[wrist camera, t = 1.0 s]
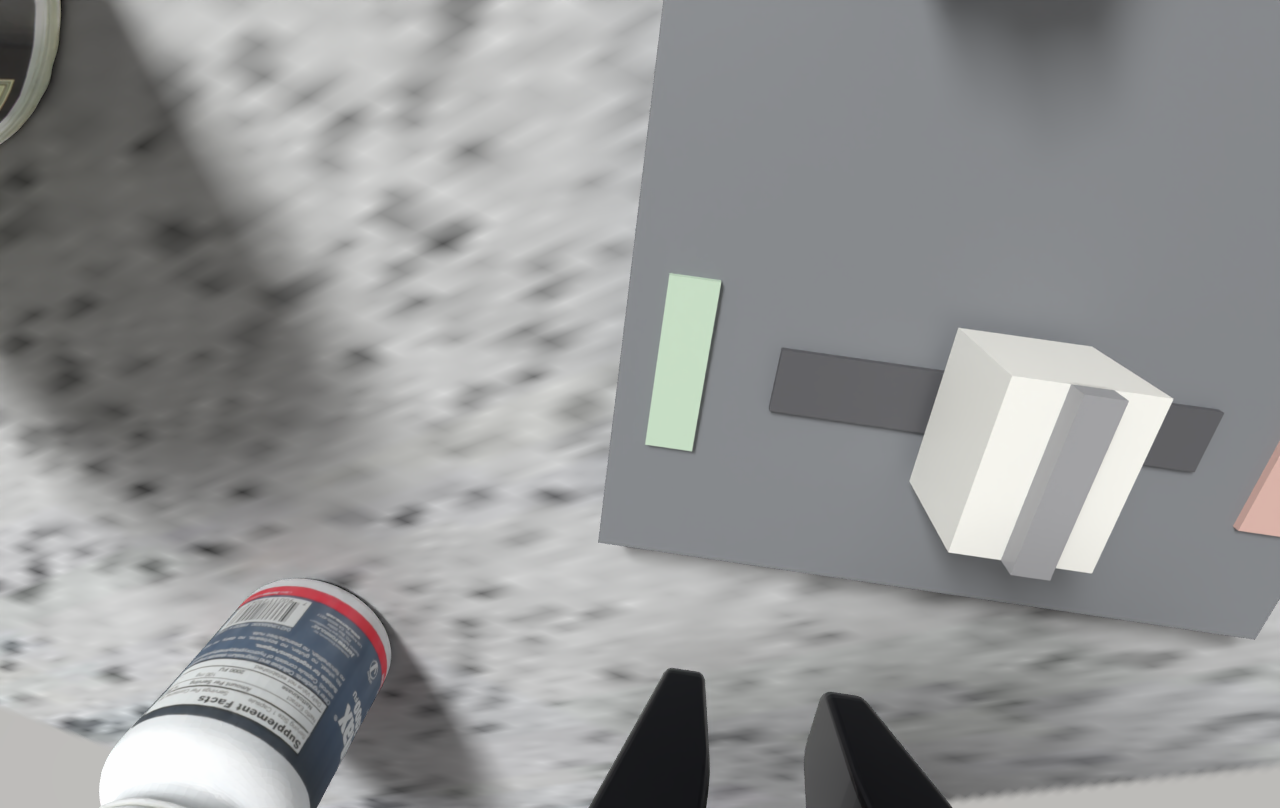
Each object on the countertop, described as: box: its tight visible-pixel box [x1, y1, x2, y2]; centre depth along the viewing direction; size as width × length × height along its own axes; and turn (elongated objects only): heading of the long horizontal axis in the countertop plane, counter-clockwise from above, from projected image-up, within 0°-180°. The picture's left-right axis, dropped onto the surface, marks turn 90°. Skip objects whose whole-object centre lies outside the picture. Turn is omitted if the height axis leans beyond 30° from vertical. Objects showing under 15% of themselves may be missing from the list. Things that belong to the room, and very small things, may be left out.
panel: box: [598, 0, 1280, 640], centre depth 15 cm, size 18×23×2 cm
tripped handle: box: [909, 328, 1173, 581], centre depth 15 cm, size 3×4×4 cm
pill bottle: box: [99, 578, 391, 808], centre depth 20 cm, size 5×5×9 cm
